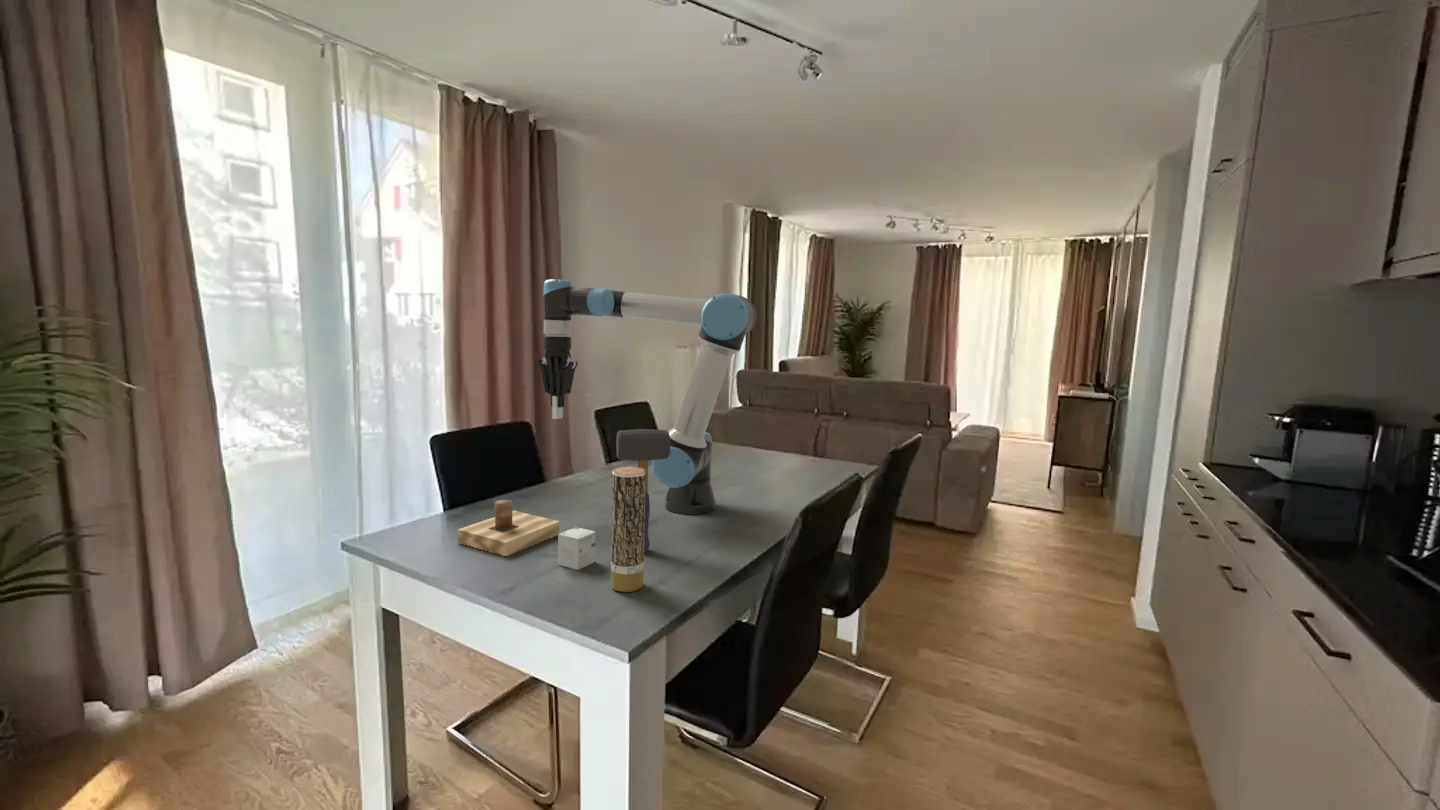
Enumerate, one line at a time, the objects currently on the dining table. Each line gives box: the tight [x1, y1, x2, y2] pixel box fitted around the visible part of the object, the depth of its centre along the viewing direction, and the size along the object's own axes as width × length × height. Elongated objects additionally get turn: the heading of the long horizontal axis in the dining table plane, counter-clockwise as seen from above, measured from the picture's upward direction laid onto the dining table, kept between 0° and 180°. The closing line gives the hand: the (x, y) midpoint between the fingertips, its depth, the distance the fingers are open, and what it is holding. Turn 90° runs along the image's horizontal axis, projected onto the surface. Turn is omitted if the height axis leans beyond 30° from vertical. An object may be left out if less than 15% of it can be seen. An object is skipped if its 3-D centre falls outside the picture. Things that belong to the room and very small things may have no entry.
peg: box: [494, 499, 513, 533], centre depth 153 cm, size 4×4×10 cm
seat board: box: [457, 510, 561, 557], centre depth 156 cm, size 16×18×4 cm
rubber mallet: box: [615, 428, 670, 553], centre depth 149 cm, size 12×8×30 cm, turn 104°
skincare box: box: [557, 526, 596, 571], centre depth 142 cm, size 6×6×7 cm
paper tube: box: [610, 466, 646, 593], centre depth 129 cm, size 7×7×25 cm
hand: (557, 418), depth 179 cm, fingers closed
